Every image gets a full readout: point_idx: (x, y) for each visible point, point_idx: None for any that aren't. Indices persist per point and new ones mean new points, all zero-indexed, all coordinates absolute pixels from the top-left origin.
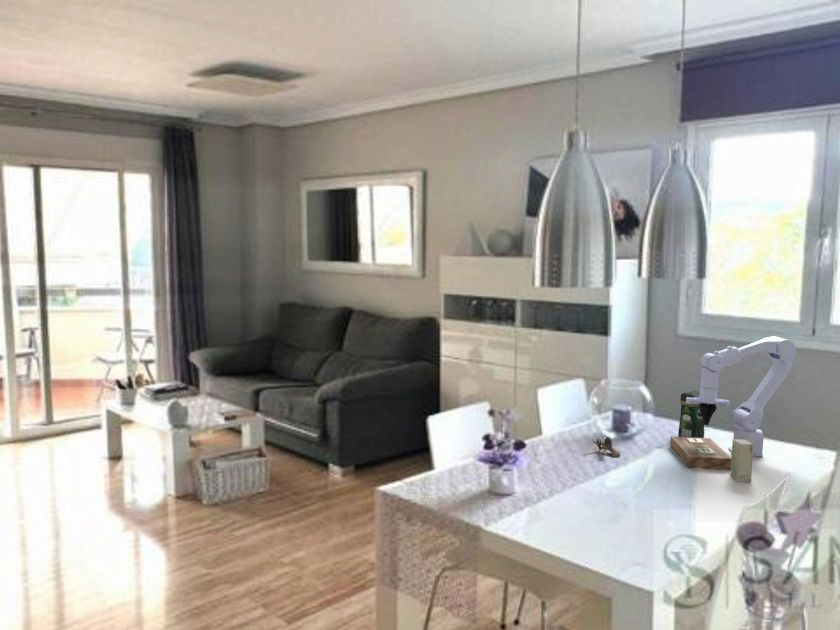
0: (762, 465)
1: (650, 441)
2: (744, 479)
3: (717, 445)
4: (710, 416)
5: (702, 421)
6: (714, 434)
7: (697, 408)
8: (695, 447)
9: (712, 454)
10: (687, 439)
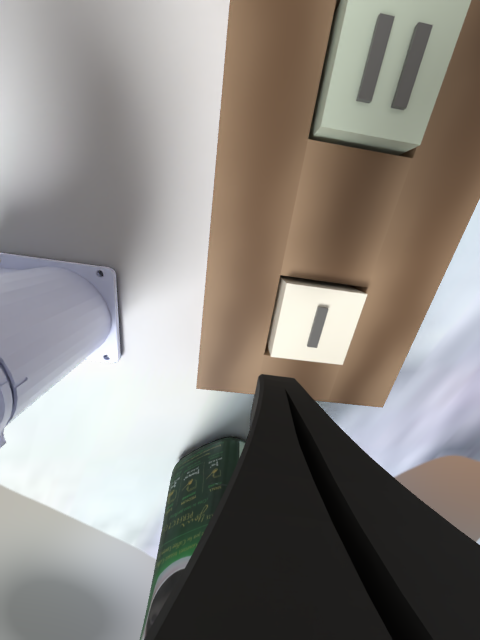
0: (10, 82)
1: (388, 431)
2: None
3: (211, 259)
4: (266, 440)
5: (174, 537)
6: (118, 501)
7: None
8: (380, 207)
9: None
10: (347, 346)
